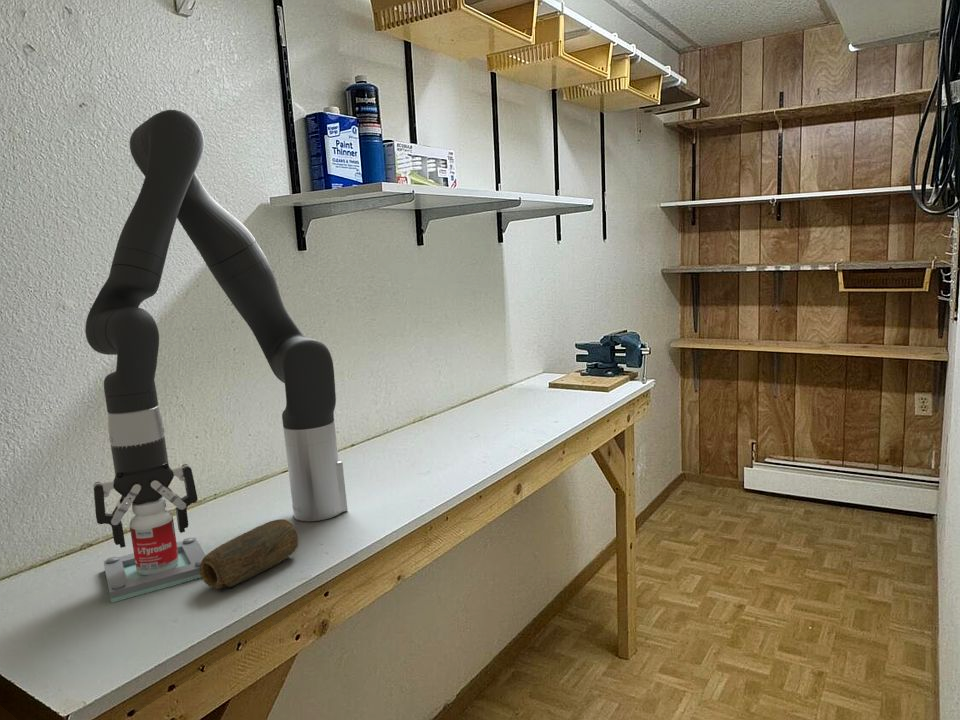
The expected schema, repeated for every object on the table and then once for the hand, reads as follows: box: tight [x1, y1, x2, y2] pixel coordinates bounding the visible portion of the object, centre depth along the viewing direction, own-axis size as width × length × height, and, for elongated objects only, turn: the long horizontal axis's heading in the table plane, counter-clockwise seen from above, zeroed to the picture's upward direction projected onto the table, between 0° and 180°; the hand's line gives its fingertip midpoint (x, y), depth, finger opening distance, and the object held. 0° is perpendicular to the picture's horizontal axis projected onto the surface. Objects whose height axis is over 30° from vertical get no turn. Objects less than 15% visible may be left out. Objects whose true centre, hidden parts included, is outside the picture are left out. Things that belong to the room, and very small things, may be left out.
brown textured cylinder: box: [200, 518, 299, 590], centre depth 108 cm, size 15×7×7 cm, turn 150°
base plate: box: [103, 537, 207, 603], centre depth 111 cm, size 14×14×2 cm
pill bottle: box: [129, 496, 179, 576], centre depth 110 cm, size 6×6×11 cm
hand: (152, 538), depth 110 cm, fingers open, 8 cm apart
